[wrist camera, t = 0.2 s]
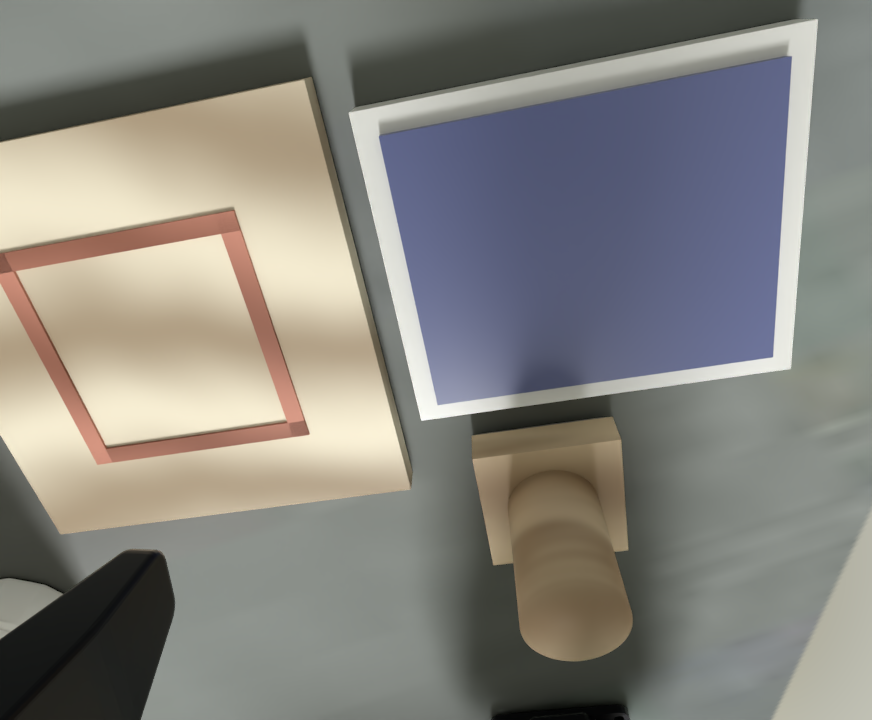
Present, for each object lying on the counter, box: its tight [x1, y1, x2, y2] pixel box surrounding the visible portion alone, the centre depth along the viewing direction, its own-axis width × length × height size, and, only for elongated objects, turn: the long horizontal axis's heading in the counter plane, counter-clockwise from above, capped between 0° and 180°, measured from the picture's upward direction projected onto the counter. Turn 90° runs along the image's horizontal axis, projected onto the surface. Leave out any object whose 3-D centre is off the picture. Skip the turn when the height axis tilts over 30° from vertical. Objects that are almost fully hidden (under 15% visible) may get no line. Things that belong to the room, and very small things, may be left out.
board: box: [0, 77, 413, 534], centre depth 21 cm, size 14×14×1 cm
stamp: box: [472, 417, 633, 661], centre depth 21 cm, size 5×5×7 cm
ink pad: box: [349, 19, 818, 421], centre depth 19 cm, size 10×12×2 cm
